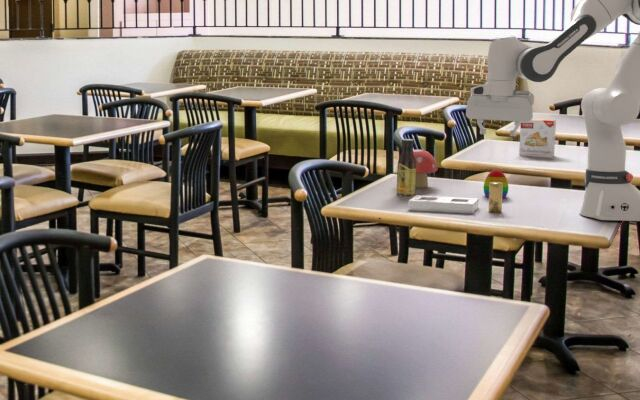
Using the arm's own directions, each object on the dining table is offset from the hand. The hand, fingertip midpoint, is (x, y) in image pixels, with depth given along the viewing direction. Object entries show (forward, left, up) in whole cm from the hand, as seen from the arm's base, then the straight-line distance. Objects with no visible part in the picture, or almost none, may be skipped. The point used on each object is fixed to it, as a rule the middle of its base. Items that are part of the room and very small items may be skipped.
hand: (497, 135), depth 286 cm
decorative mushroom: (+31, -31, -24) cm, 50 cm away
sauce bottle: (+32, -16, -24) cm, 43 cm away
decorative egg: (+3, -24, -24) cm, 34 cm away
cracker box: (-3, -116, -24) cm, 118 cm away
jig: (+16, +2, -24) cm, 28 cm away
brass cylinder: (0, +2, -24) cm, 24 cm away
